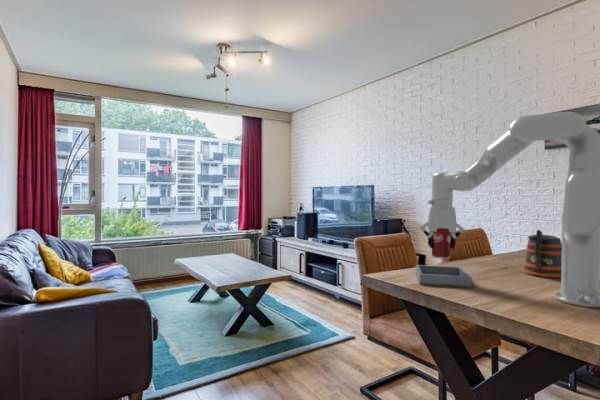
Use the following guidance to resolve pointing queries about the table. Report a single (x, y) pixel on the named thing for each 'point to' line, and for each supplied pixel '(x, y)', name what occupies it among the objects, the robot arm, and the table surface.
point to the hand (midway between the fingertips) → (441, 247)
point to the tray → (443, 276)
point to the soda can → (441, 243)
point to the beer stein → (543, 256)
